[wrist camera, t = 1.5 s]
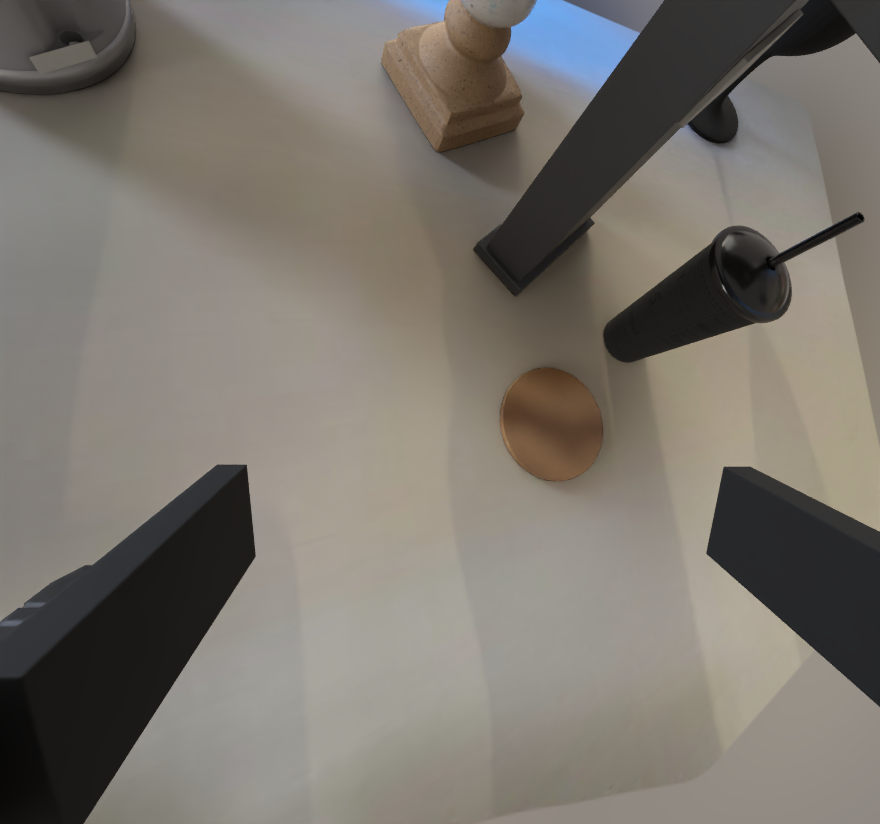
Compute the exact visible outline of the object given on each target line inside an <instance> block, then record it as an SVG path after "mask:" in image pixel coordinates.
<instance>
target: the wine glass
mask: <svg viewBox="0 0 880 824" xmlns="http://www.w3.org/2000/svg"><path fill="white" fill-rule="evenodd" d="M800 10H801V11H802V12H803V15H802V16H801V17H800V18H799V19H798V20H797V21H796V22H795V23H794V24H793V25H792V26H791V27H790V28H789V29H788V30H787V31H786V32H785V33H784V34H783V35H782V36H781V37H780V38H779V39H778V40H777V41H776V42H775V43H774V44H773V45H771V46H770V47H769V48H768V49H767V50H766V51H765V52H764V53H763V54H762V55H761V56H760V57H759V58H758V59H757V60H756V61H755V62H754V63H753V64H752V65H751V66H750V67H749V68H748V69H747V70H746V71H745V72H744V73H743V74H742V75H741V76H740V77H739V78H738V79H737V80H735V81H734V82H733V83H732V84H731V85H730V86H729V87H728V88H726V89H725V90H724V91H723V92H722V93H721V94H720V95H719V96H718V97H716V98H715V99H714V100H713V101H712V102H711V103H710V104H709V105H707V106H706V107H705V108H704V109H703V110H702V111H701V112H700V113H699V114H697V115H696V116H695V117H694V118H693V119H692V120H691V121H690V122H689V123H688V124H689V125H690V126H691V127H692V128H693V130H695V131H696V132H697V133H698V134H699V135H701V136H702V137H703V138H705V139H707V140H709V141H712V142H715V143H726V142H728V141H730V140H731V139H732V138H733V137H734V136H735V135H736V132H737V129H738V118H737V114H736V110H735V108H734V106H733V104H732V102H731V100H730V99H729V97H728V95H729V93H730V92H731V91H732V90H733V89H734V88H735V87H736V86H737V85H738V84H739V83H740V82H741V81H742V80H743V79H744V78H745V77H746V76H747V75H749V74H750V73H751V72H752V71H753V70H754V69H755V68H757V67H758V66H759V65H760V64H761V63H763V62H764V61H765V60H767V59H768V58H770V57H772V56H801V55H808V54H812V53H816V52H820V51H823V50H826V49H828V48H831V47H833V46H835V45H837V44H839V43H841V42H843V41H844V40H846V39H848V38H849V37H851V36H852V35H854V34H855V33H856V32H855V31H854V30H853V29H852V27H851V26H850V25H849V23H848V22H847V21H846V20H845V18H844V17H843V16H842V15H841V13H840V12H839V11H838V10H837V8H836V7H835V6H834V4H833V3H832V2H831V1H830V0H809V1H808V2H807V3H806V4H805V5H804V6H803V7H802V8H801V9H800Z"/></svg>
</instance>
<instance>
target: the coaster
mask: <svg viewBox="0 0 880 824" xmlns="http://www.w3.org/2000/svg"><path fill="white" fill-rule="evenodd" d="M500 426H501V431H502V435H503V439H504V442H505V444H506V446H507V448H508V450H509V452H510V454H511V455H512V456H513V458H514V459H515V460H516V462H517V463H518V464H519V465H520V466H521V467H522V468H524V469H525V470H526V471H527V472H529V473H531V474H532V475H534V476H536V477H539V478H541V479H545V480H550V481H563V480H569V479H572V478H575V477H577V476H579V475H581V474H582V473H584V472H585V471H586V470H587V469H588V468H589V467H590V466H591V465H592V464H593V462H594V461H595V459H596V457H597V455H598V453H599V450H600V448H601V443H602V436H603V426H602V419H601V414H600V411H599V408H598V406H597V403H596V401H595V399H594V398H593V396H592V394H591V393H590V392H589V390H588V389H587V388H586V387H585V386H584V384H583V383H582V382H580V381H579V380H578V379H577V378H575V377H574V376H572V375H571V374H569V373H567V372H565V371H562V370H559V369H554V368H538V369H534V370H531V371H529V372H527V373H525V374H523V375H522V376H520V377H519V378H517V379H516V380H515V381H514V382H513V383H512V384H511V386H510V387H509V389H508V390H507V392H506V394H505V396H504V399H503V402H502V405H501V411H500Z"/></svg>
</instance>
